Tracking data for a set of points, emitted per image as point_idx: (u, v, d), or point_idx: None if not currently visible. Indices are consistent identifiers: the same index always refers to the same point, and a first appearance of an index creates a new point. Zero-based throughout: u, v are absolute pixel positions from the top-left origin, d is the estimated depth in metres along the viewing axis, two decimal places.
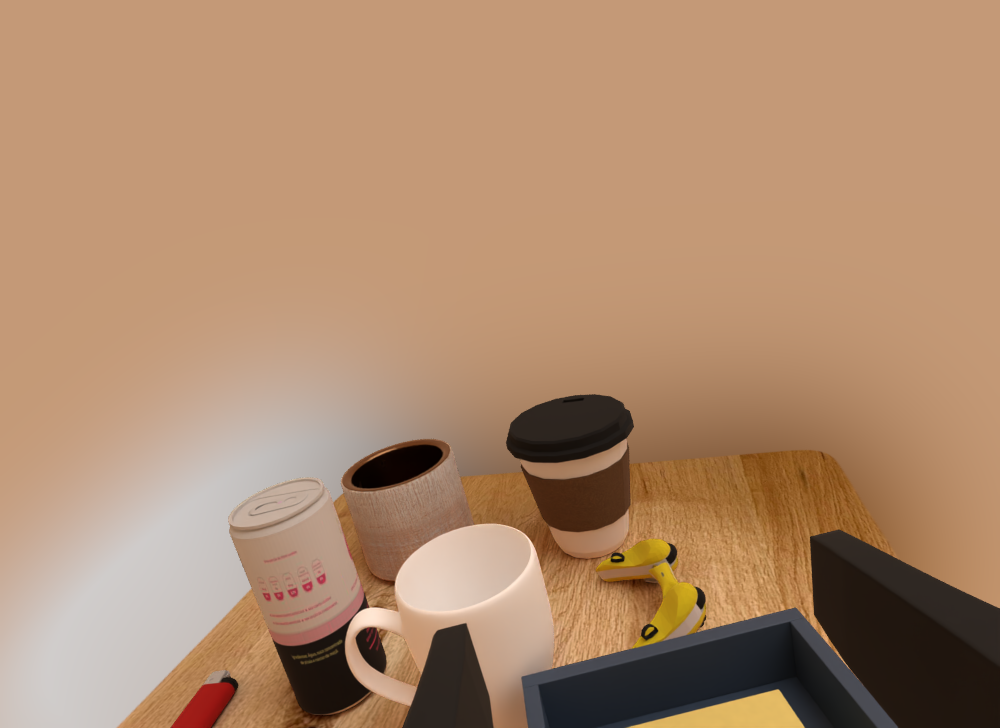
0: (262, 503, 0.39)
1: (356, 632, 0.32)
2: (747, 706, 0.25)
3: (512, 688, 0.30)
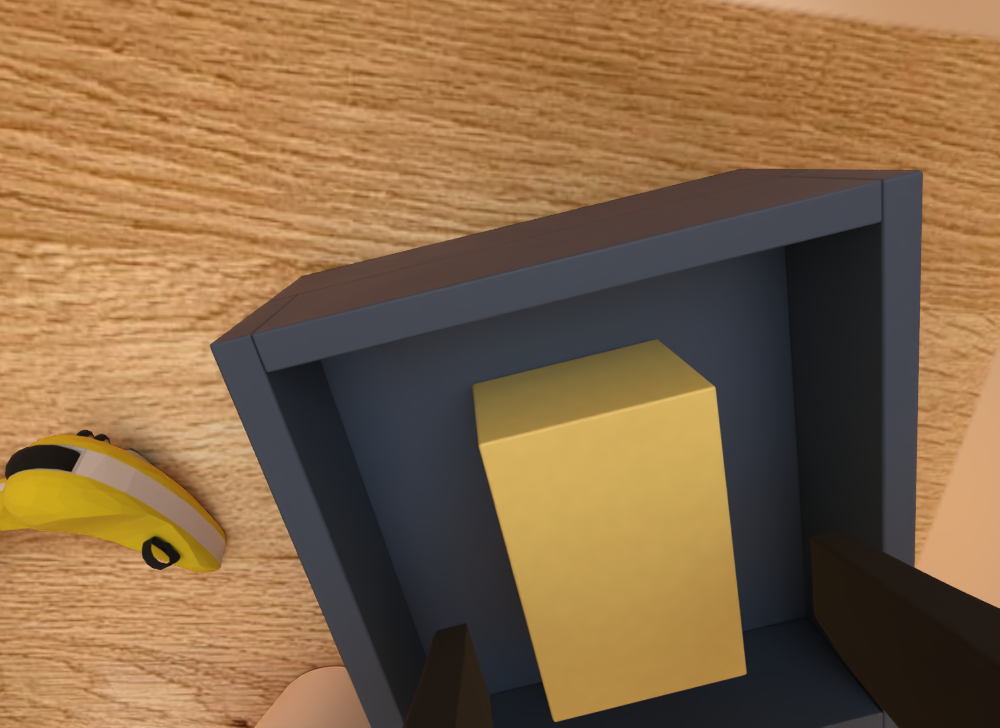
0: None
1: None
2: (518, 508, 0.12)
3: None
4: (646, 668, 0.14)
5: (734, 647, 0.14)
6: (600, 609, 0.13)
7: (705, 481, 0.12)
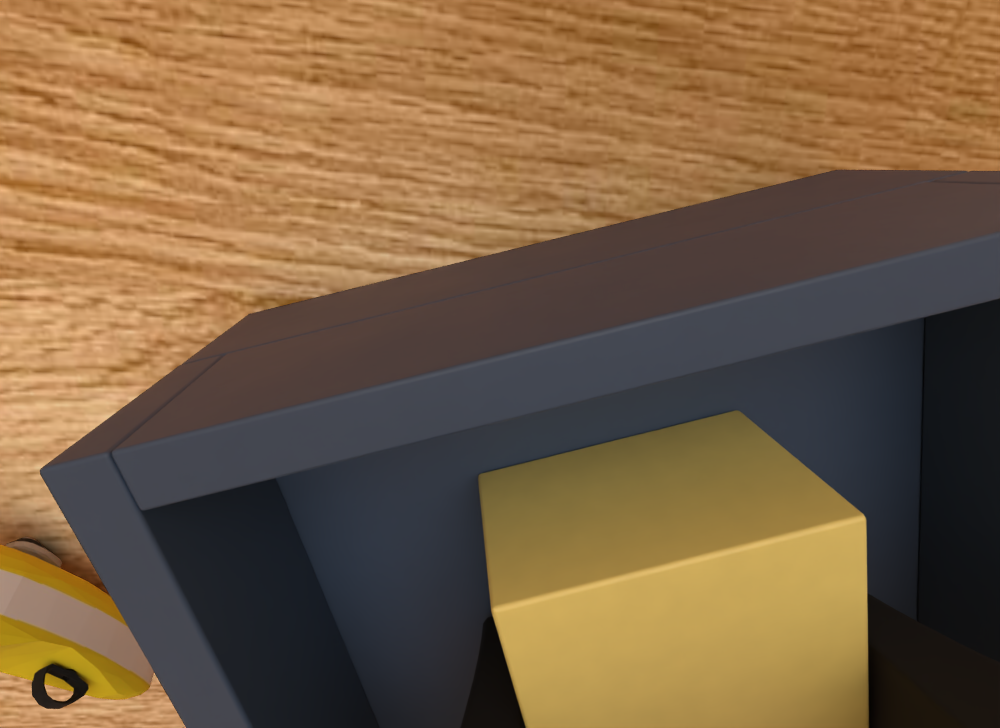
0: None
1: None
2: (552, 696, 0.08)
3: None
4: None
5: None
6: None
7: (838, 650, 0.08)
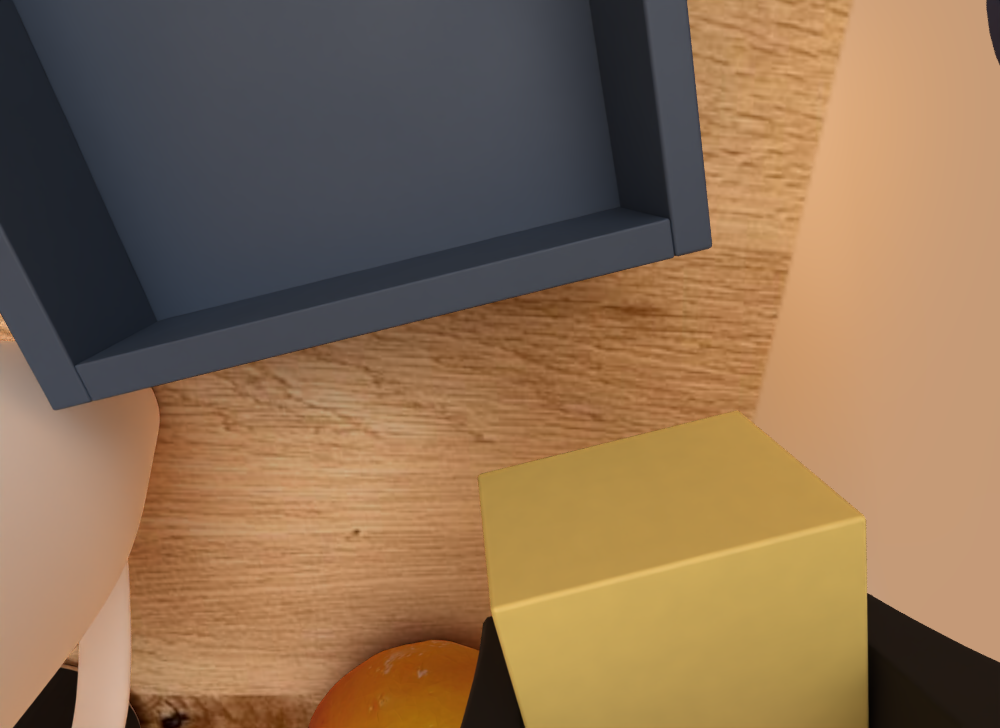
0: None
1: None
2: (552, 696, 0.08)
3: (77, 424, 0.13)
4: None
5: None
6: None
7: (838, 651, 0.08)
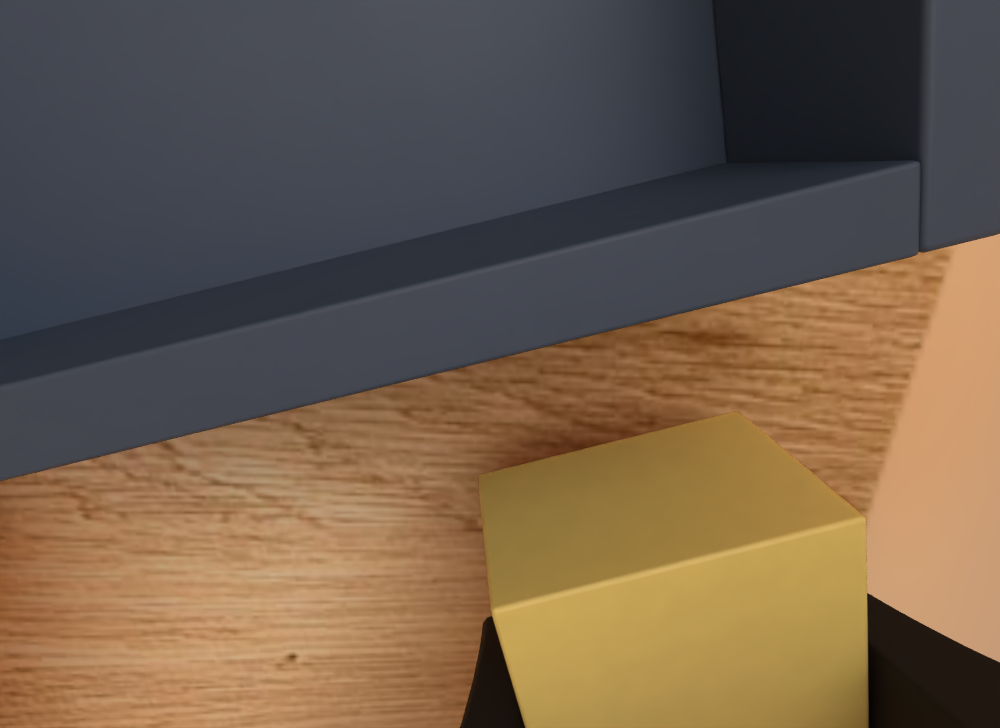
0: None
1: None
2: (552, 697, 0.08)
3: None
4: None
5: None
6: None
7: (838, 652, 0.08)
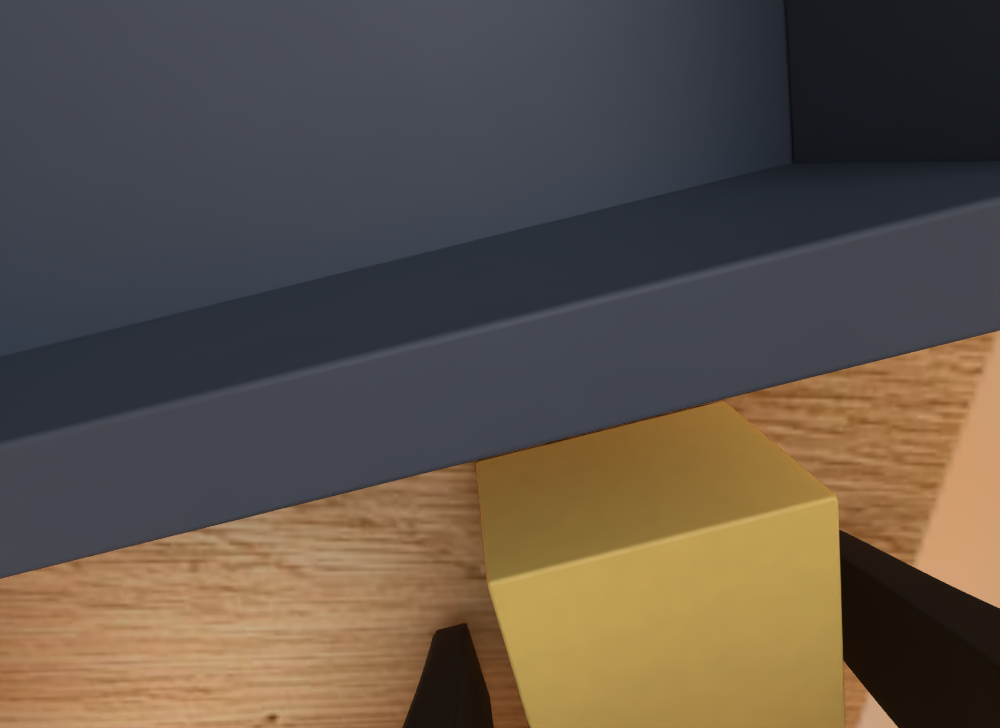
0: None
1: None
2: (545, 667, 0.08)
3: None
4: None
5: None
6: None
7: (813, 624, 0.09)
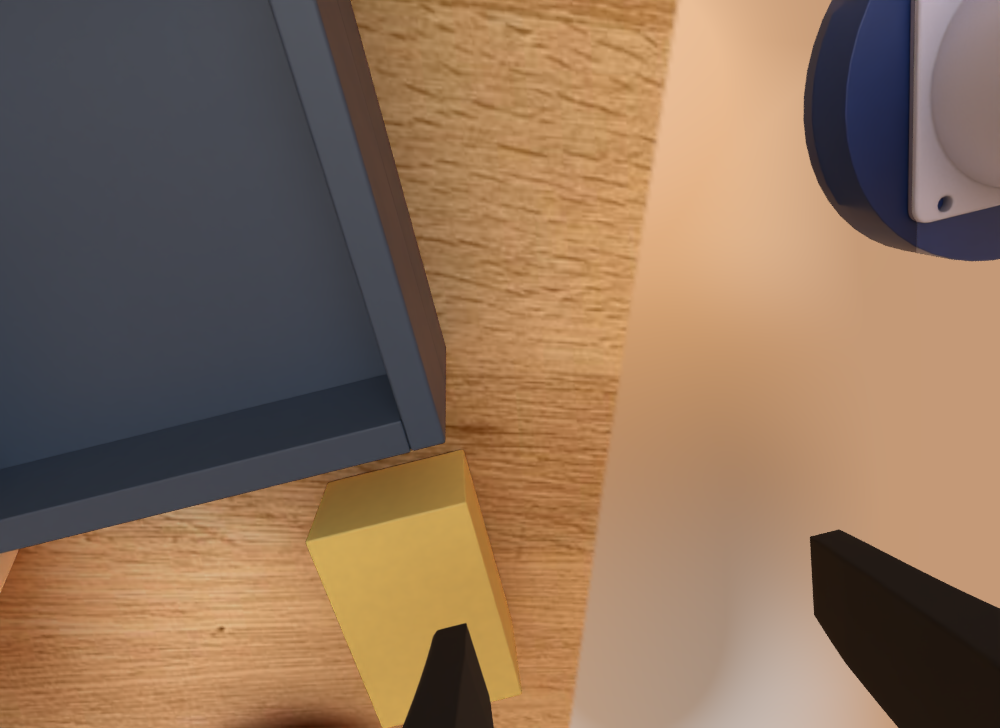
0: None
1: None
2: (337, 583, 0.18)
3: None
4: None
5: (509, 676, 0.20)
6: (406, 650, 0.19)
7: (468, 563, 0.18)
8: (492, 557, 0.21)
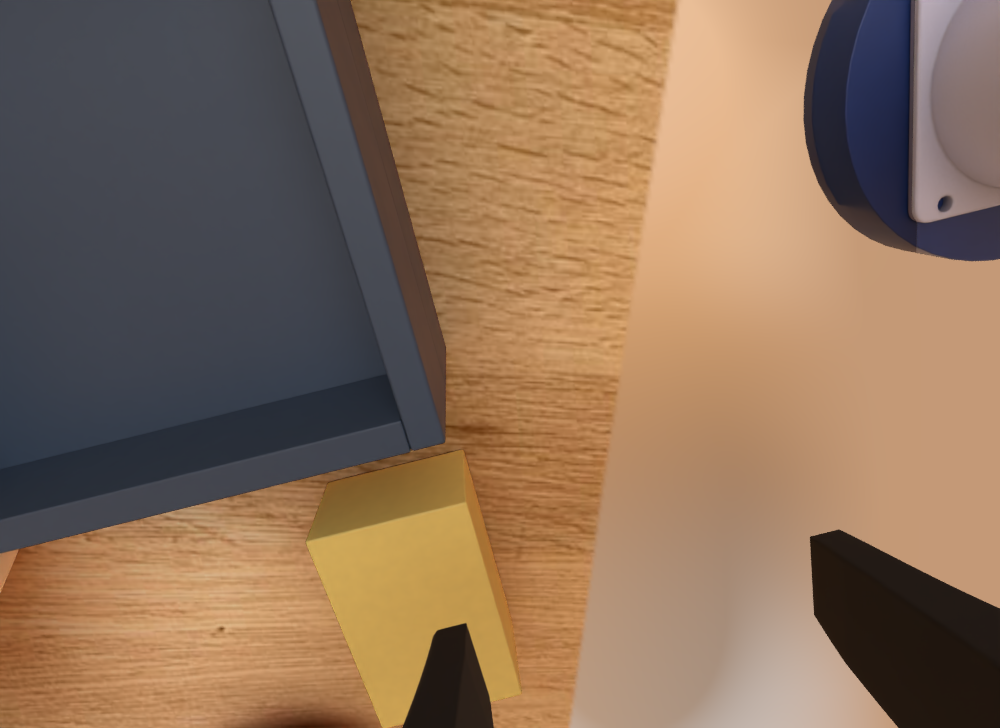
0: None
1: None
2: (337, 583, 0.18)
3: None
4: None
5: (509, 676, 0.20)
6: (406, 650, 0.19)
7: (468, 563, 0.18)
8: (492, 557, 0.21)
